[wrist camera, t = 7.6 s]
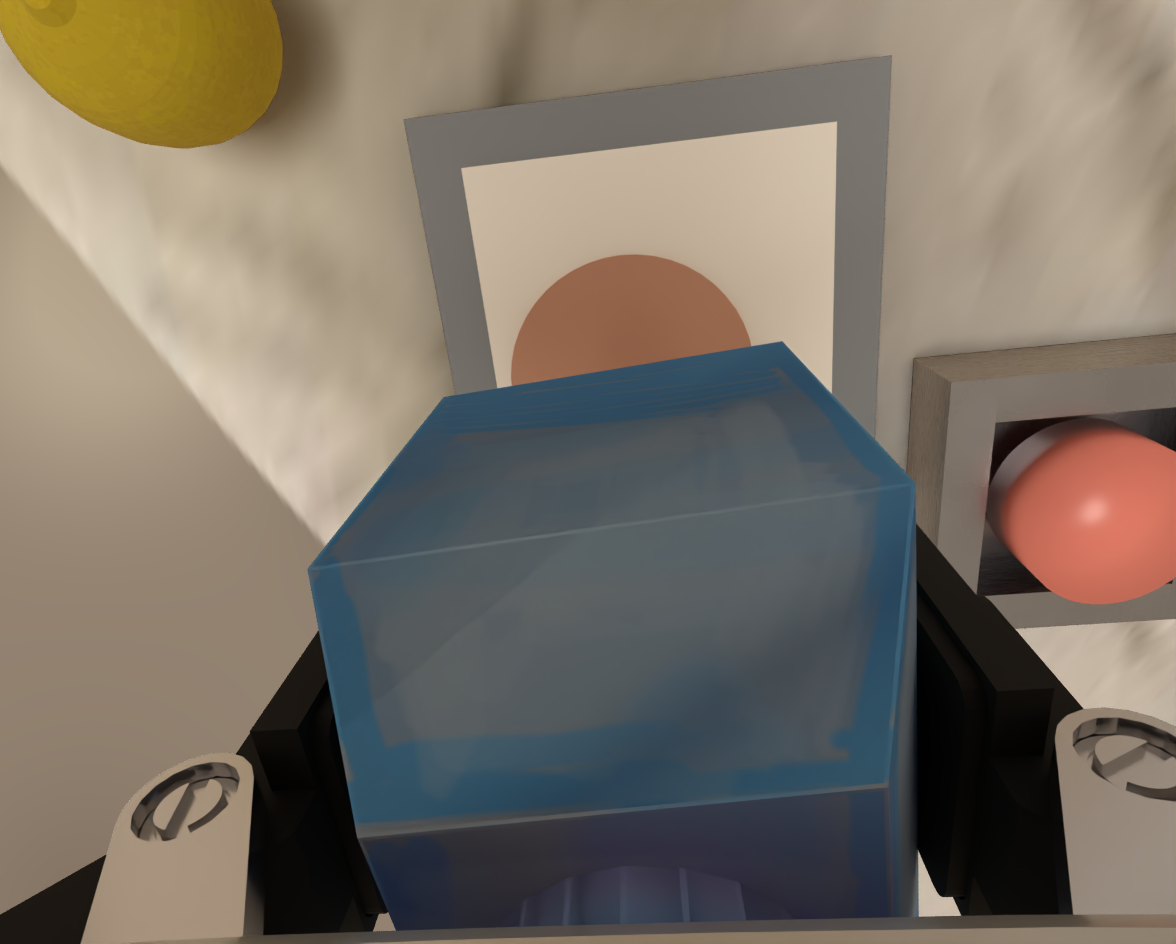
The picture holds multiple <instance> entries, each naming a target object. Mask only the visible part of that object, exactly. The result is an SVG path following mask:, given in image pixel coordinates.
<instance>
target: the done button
mask: <svg viewBox="0 0 1176 944" xmlns="http://www.w3.org/2000/svg"><path fill="white" fill-rule="evenodd" d="M987 516H988V520H989V524H990V527H991V529H992V531H993V533H994V534H995V536H996V537H997V539H998V540H999V541H1000V542H1001V543H1002V544H1003V545H1004V546H1005V547H1006V548H1007V549H1008V550H1009V551H1010V552H1011V553H1012V554H1013V555H1014V556H1015V557H1016V558H1017V559H1018V560H1019V561H1020V562H1021V563H1022V564H1023V565H1024V566H1025V567H1026V568H1027V569H1028V570H1029V571H1030V572H1031V573H1032V574H1033V575H1034V576H1035V577H1036V578H1037V579H1038V580H1039V581H1040V582H1041V583H1042V584H1043V585H1044V586H1045V587H1046V588H1048V589H1049V590H1051V591H1052V592H1053V593H1055V594H1057V595H1059V596H1061V597H1063V598H1065V599H1068V600H1071V601H1075V602H1079V603H1085V604H1112V603H1119V602H1123V601H1128V600H1131V599H1135V598H1138V597H1141V596H1143V595H1145V594H1148V593H1150V592H1152V591H1154V590H1156V589H1158V588H1160V587H1162V586H1163V585H1165V584H1166V583H1168V582H1169V581H1171V580H1172V579H1174V578H1175V577H1176V452H1175V451H1173V450H1171V449H1169V448H1167V447H1165V446H1163V445H1161V444H1159V443H1157V442H1155V441H1153V440H1151V439H1149V438H1147V437H1145V436H1143V435H1141V434H1139V433H1137V432H1135V431H1133V430H1131V429H1129V428H1127V427H1125V426H1123V425H1121V424H1118V423H1115V422H1113V421H1108V420H1104V419H1094V418H1085V419H1075V420H1069V421H1065V422H1061V423H1057V424H1055V425H1052V426H1049V427H1047V428H1045V429H1043V430H1041V431H1039V432H1037V433H1035V434H1034V435H1032V436H1030V437H1029V438H1027V439H1026V440H1025V441H1023V442H1022V443H1021V444H1020V445H1018V446H1017V447H1016V448H1015V449H1014V450H1013V451H1012V452H1011V453H1010V454H1009V455H1008V456H1007V457H1006V459H1005V460H1004V461H1003V462H1002V464H1001V465H1000V467H999V468H998V470H997V472H996V474H995V476H994V478H993V480H992V482H991V485H990V488H989V492H988V497H987Z"/></svg>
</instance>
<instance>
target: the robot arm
mask: <svg viewBox="0 0 1176 944" xmlns="http://www.w3.org/2000/svg"><path fill="white" fill-rule="evenodd" d="M916 608H917V759H918V851H919V853H920V855H921V857H922V860H923V862H924V864H925V867H926V869H927V871H928V874H929V876H930V878H931V881H932V883H933V885H934V887H935V889H936V891H937V892H938V894H939V895H940V896H942V897H953V898H954V900H955V903H956V905H957V907H958V909H959V911H960V914H961V916H935V917H888V918H842V919H795V920H752V921H714V922H676V923H638V924H602V925H567V926H531V927H496V928H465V929H435V930H405V931H377V932H373V929H374V926H375V923H376V920H377V918H378V915H379V914H385V913H387V912H388V910H387V908H386V905H385V903H384V901H383V898H382V896H381V893H380V891H379V889H378V886H377V884H376V881H375V879H374V877H373V874H372V872H371V869H370V867H369V865H368V862H367V860H366V858H365V855H364V853H363V850H362V848H361V846H360V843H359V841H358V838H357V834H356V828H355V823H354V817H353V812H352V807H351V801H350V796H349V790H348V785H347V780H346V774H345V769H344V764H343V758H342V753H341V747H340V742H339V737H338V731H337V726H336V720H335V715H334V710H333V704H332V699H331V693H330V688H329V683H328V677H327V672H326V666H325V661H324V656H323V650H322V645H321V639H320V634H319V631H318V632H317V634H316V635H315V637H314V638H313V640H312V641H311V643H310V644H309V645H308V647H307V648H306V650H305V651H304V653H303V654H302V656H301V657H300V658H299V660H298V662H297V663H296V664H295V666H294V667H293V669H292V670H291V672H290V673H289V675H288V676H287V678H286V679H285V681H284V682H283V684H282V685H281V687H280V688H279V689H278V691H277V692H276V694H275V695H274V697H273V698H272V700H271V701H270V703H269V704H268V706H267V707H266V708H265V710H264V711H263V713H262V714H261V716H260V717H259V719H258V720H257V722H256V723H255V725H254V726H253V727H252V729H251V730H250V734H249V735H248V737H247V739H246V740H245V741H244V743H243V744H242V746H241V747H240V749H239V750H238V752H237V753H236V754H232V753H212V754H208V755H203V756H199V757H195V758H192V759H190V760H187V761H185V762H182V763H180V764H178V765H175V766H173V767H171V768H170V769H168V770H166V771H165V772H163V773H162V774H160V775H158V776H156V777H155V778H153V779H152V780H151V781H150V782H148V783H147V784H146V785H145V786H144V787H142V788H141V789H140V790H139V791H138V792H137V793H136V794H135V795H134V796H133V797H132V798H131V800H130V801H129V802H128V803H127V804H126V806H125V807H124V808H123V810H122V812H121V814H120V816H119V818H118V820H117V822H116V824H115V828H114V831H113V835H112V838H111V841H110V845H109V849H108V852H107V854H106V855H105V856H103V857H102V858H99V859H98V860H96V861H94V862H92V863H91V864H89V865H87V866H85V867H84V868H82V869H80V870H78V871H77V872H75V873H73V874H71V875H70V876H68V877H66V878H64V879H62V880H61V881H59V882H57V883H55V884H54V885H52V886H50V887H48V888H47V889H45V890H43V891H41V892H39V893H38V894H36V895H34V896H32V897H31V898H29V899H27V900H25V901H24V902H22V903H20V904H18V905H17V906H15V907H13V908H11V909H10V910H8V911H6V912H4V913H2V914H1V915H0V944H1176V726H1174V725H1171V724H1169V723H1167V722H1164V721H1162V720H1159V719H1157V718H1155V717H1152V716H1148V715H1144V714H1140V713H1137V712H1133V711H1129V710H1122V709H1113V708H1092V709H1083V708H1082V707H1081V705H1080V704H1079V703H1078V702H1077V701H1076V700H1075V698H1074V697H1073V696H1072V695H1071V694H1070V693H1069V691H1068V690H1067V689H1066V688H1065V687H1064V686H1063V684H1062V683H1061V682H1060V681H1059V680H1058V679H1057V677H1056V676H1055V675H1054V674H1053V673H1052V672H1051V670H1050V669H1049V668H1048V667H1047V666H1046V665H1045V663H1044V662H1043V661H1042V660H1041V659H1040V658H1039V657H1038V655H1037V654H1036V653H1035V652H1034V651H1033V650H1032V648H1031V647H1030V646H1029V645H1028V644H1027V643H1026V641H1025V640H1024V639H1023V638H1022V637H1021V636H1020V634H1019V633H1018V632H1017V631H1016V630H1015V629H1014V627H1013V626H1012V625H1011V624H1010V623H1009V622H1008V620H1007V619H1006V618H1005V617H1004V616H1003V615H1002V613H1001V612H1000V611H999V610H998V609H997V608H996V607H995V605H994V604H993V603H992V602H991V601H990V600H989V599H988V598H986V597H985V596H982V595H976V594H975V593H974V592H973V590H972V589H971V588H970V587H969V586H968V584H967V583H966V582H965V581H964V580H963V578H962V577H961V576H960V575H959V574H958V572H957V571H956V570H955V569H954V568H953V566H952V565H951V564H950V563H949V562H948V560H947V559H946V558H945V557H944V556H943V555H942V553H941V552H940V551H939V550H938V549H937V547H936V546H935V545H934V544H933V543H932V541H931V540H930V539H929V538H928V537H927V535H926V534H925V533H924V532H923V531H922V529H921V528H920V527H919V526H918V525H917V524H916Z"/></svg>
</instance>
